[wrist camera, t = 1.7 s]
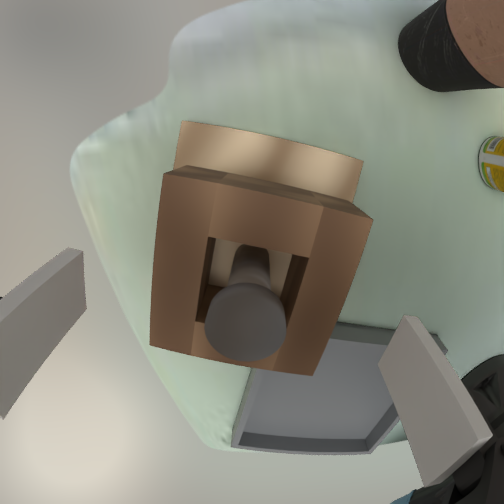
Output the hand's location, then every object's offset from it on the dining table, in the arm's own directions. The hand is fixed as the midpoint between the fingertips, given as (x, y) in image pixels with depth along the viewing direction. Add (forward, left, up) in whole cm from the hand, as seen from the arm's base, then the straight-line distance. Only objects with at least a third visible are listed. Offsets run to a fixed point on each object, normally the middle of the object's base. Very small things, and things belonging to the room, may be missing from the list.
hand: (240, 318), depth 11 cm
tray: (-13, +18, -15) cm, 27 cm away
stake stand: (0, 0, -15) cm, 15 cm away
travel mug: (-12, -19, -15) cm, 27 cm away
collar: (0, 0, -7) cm, 7 cm away
